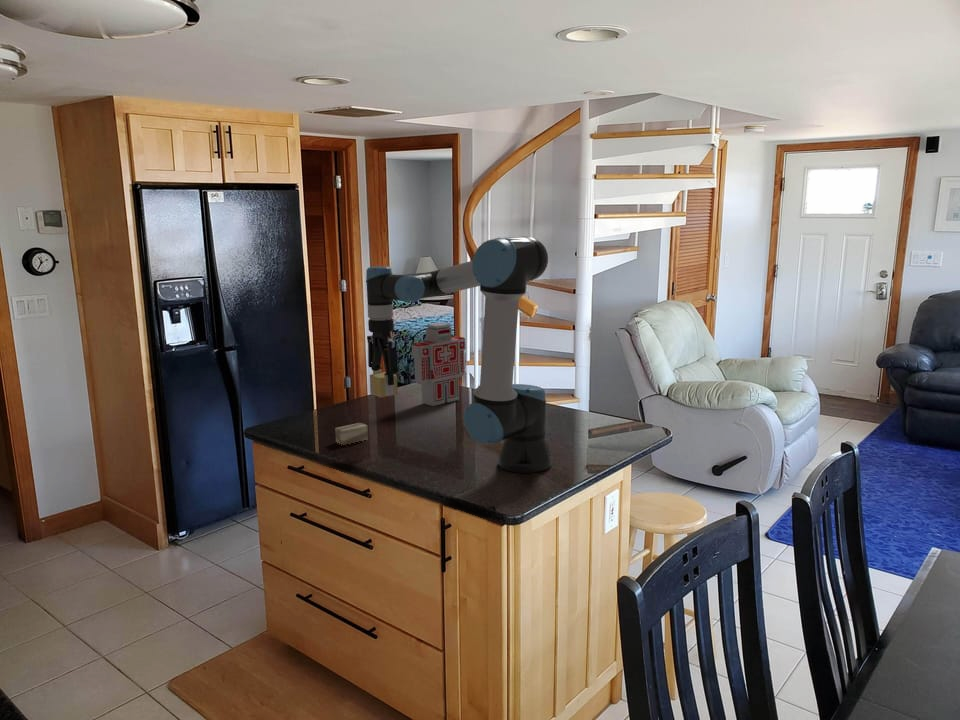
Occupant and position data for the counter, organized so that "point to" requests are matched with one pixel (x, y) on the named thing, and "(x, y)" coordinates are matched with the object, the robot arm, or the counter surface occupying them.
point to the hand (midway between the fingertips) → (383, 392)
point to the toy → (439, 364)
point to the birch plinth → (351, 433)
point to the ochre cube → (380, 385)
